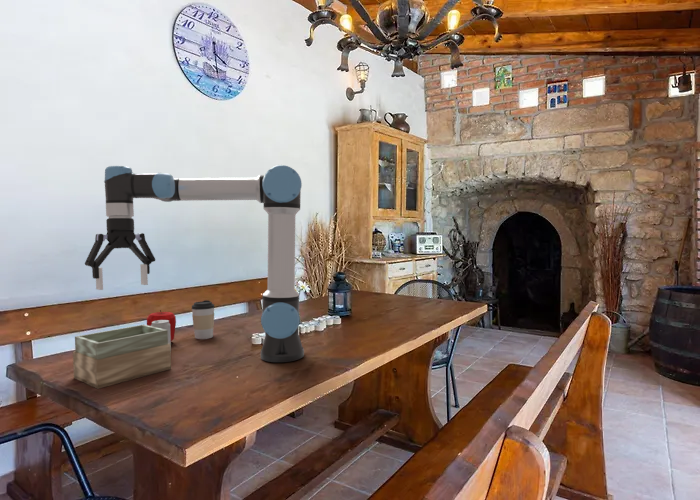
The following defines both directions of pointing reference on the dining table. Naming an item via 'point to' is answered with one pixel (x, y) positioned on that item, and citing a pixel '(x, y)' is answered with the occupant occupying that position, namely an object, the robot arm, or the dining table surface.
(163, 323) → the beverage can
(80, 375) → the wooden planter box
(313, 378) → the dining table surface
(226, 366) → the dining table surface
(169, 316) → the red rounded piece
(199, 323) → the coffee cup
